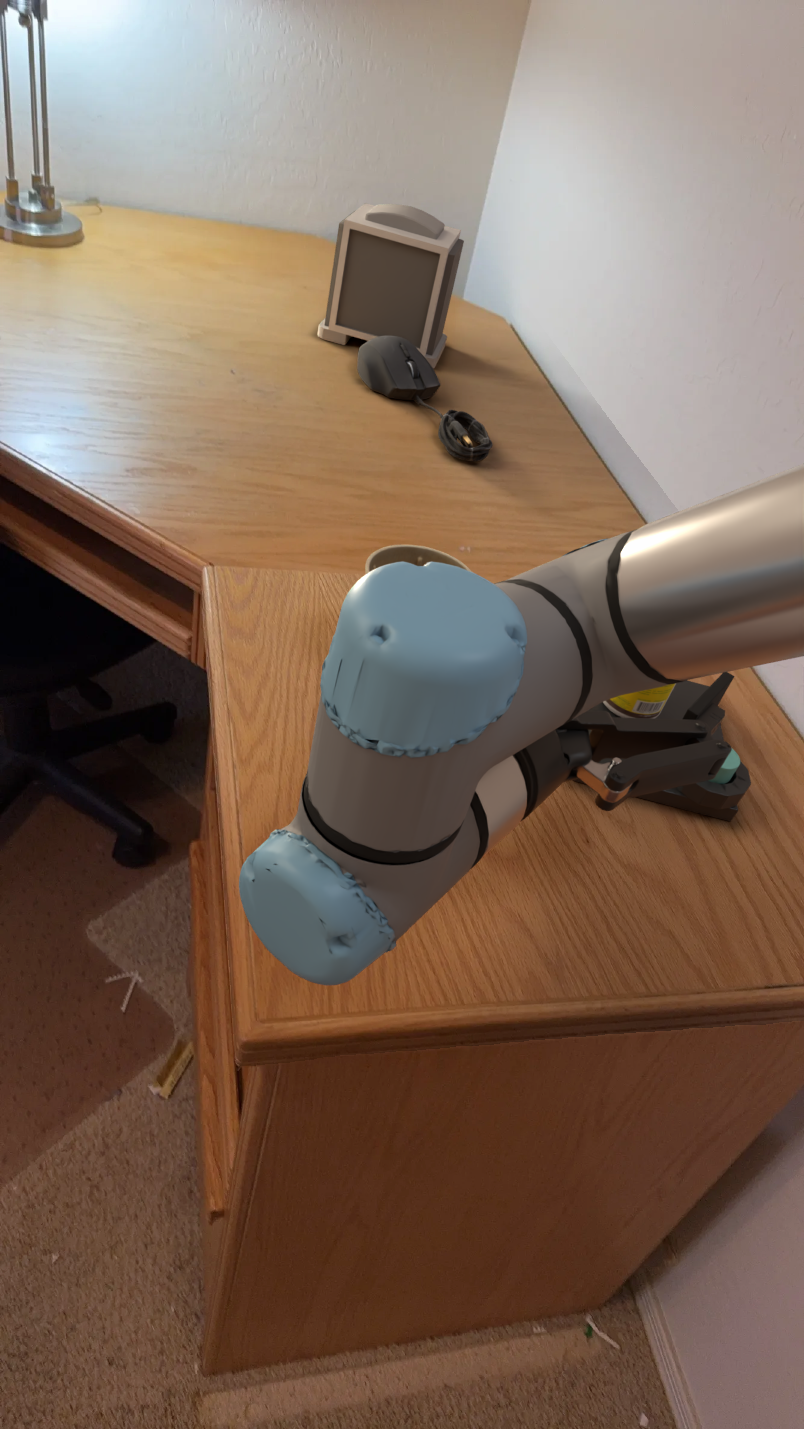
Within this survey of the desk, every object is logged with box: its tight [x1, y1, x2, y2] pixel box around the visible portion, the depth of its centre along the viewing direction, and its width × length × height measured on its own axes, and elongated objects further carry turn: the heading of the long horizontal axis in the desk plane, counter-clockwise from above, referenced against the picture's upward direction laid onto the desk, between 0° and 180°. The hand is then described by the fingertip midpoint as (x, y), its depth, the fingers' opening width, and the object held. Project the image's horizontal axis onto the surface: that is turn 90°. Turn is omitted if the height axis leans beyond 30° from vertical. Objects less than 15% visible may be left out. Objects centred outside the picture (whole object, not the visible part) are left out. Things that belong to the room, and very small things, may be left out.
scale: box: [572, 680, 752, 822], centre depth 74 cm, size 16×14×3 cm
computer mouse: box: [356, 336, 494, 462], centre depth 117 cm, size 10×32×6 cm, turn 29°
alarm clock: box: [317, 202, 465, 369], centre depth 131 cm, size 18×13×18 cm
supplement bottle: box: [603, 683, 676, 719], centre depth 73 cm, size 6×6×10 cm
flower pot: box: [364, 544, 473, 575], centre depth 74 cm, size 9×9×9 cm
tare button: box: [709, 748, 741, 784], centre depth 69 cm, size 3×3×2 cm
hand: (638, 639), depth 64 cm, fingers open, 13 cm apart
